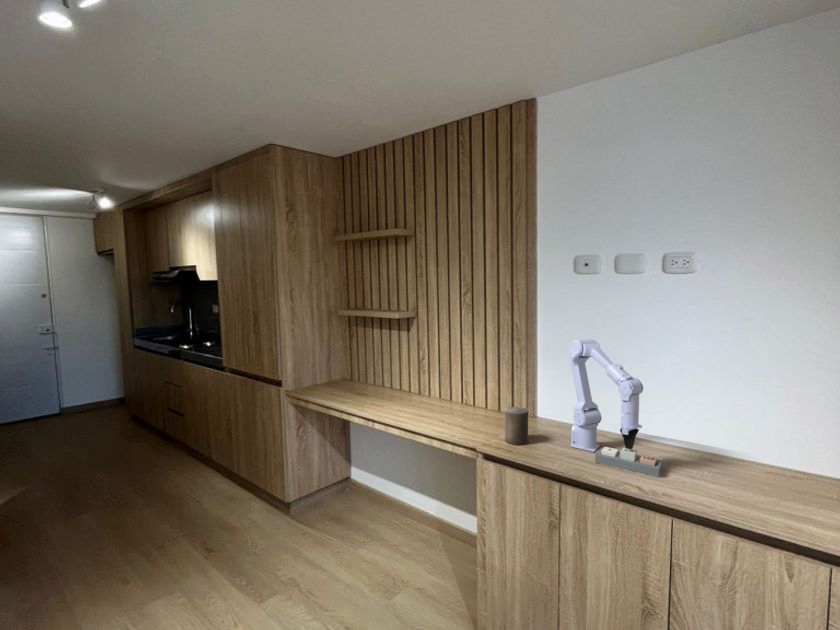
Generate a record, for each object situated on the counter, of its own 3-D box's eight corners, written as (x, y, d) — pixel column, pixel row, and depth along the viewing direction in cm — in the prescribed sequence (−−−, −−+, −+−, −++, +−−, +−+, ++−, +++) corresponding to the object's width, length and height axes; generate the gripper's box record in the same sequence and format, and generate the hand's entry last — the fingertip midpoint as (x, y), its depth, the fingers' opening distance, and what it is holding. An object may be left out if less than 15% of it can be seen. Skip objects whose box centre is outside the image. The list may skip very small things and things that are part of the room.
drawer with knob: (601, 460, 162) (601, 450, 162) (604, 456, 166) (604, 446, 165) (614, 464, 159) (615, 453, 159) (618, 459, 163) (618, 449, 162)
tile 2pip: (619, 462, 158) (620, 450, 158) (622, 457, 162) (623, 446, 161) (634, 465, 155) (634, 453, 155) (637, 460, 159) (637, 449, 158)
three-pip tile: (639, 469, 154) (639, 458, 154) (642, 465, 158) (642, 454, 157) (654, 473, 151) (654, 461, 151) (656, 468, 155) (657, 457, 155)
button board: (595, 462, 161) (595, 454, 161) (601, 454, 168) (602, 447, 168) (658, 477, 148) (658, 469, 148) (662, 468, 156) (663, 460, 155)
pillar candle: (528, 446, 178) (529, 410, 177) (504, 444, 180) (504, 409, 178) (527, 437, 187) (528, 404, 186) (504, 436, 189) (504, 402, 188)
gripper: (637, 419, 149) (636, 457, 150) (646, 409, 160) (645, 444, 161) (616, 415, 153) (615, 452, 154) (625, 406, 165) (624, 440, 165)
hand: (628, 448), depth 158 cm, fingers closed
